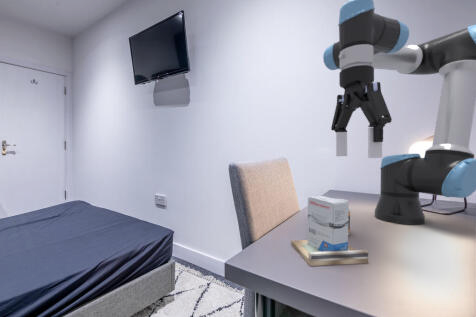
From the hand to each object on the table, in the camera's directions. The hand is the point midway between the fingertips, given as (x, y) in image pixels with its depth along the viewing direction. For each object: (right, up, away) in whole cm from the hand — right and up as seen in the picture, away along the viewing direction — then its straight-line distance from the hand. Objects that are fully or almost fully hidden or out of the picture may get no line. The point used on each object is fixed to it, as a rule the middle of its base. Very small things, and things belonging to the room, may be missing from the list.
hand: (356, 157), depth 60 cm
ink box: (-8, -22, -2) cm, 23 cm away
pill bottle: (+1, -23, +12) cm, 26 cm away
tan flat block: (-8, -23, -2) cm, 24 cm away
